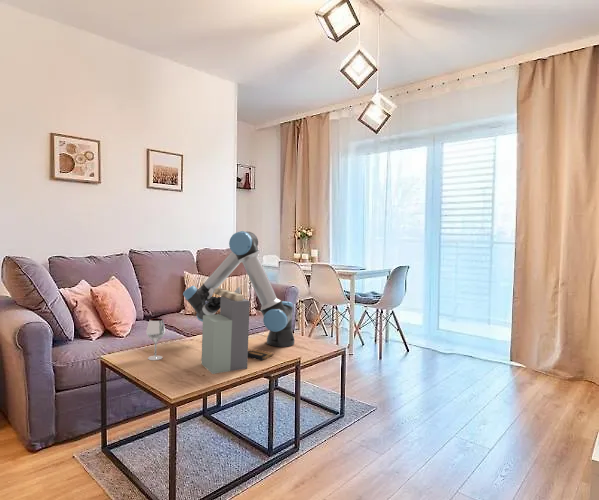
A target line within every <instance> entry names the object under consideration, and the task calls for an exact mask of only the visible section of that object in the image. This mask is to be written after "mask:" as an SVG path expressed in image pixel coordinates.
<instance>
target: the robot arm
mask: <svg viewBox="0 0 599 500" xmlns="http://www.w3.org/2000/svg"><path fill="white" fill-rule="evenodd" d="M228 241H229V242H228V244H229V245H228V246H229V249H230V251H231V252H230V253H229V254H228V255H227V256H226V258H225V259H224V260H223V261H222V262H221V263H220V264H219V266H218V267H217V268H216V269H215V270H214V271H213V272H212V273H211V274H210V275H209V277H208V278H207V279H206V280H205V281H204V282H203V284H202V285H200V287H199V288H197V287H196V286H195V285H191V286H189V287H187V288H186V289H185V290H184V291H183V293H182V296H183V297H184V298H185V300H186V301H187V302H188V304H189V305H190V306H191V307H192V308H193V309H194V311H195V312H196V318H197V320H198V321H200V322H202V323H203V315H215V314H217V312H218V311H220V300H221V297H223V296H213V295H214V291H215V288H219V287H221V285H222V284H223V283H224V282H225V281H226V279H228V277H230V275H231V274H232V273H233V271H235V270H236V268H237V267H238V266H240V264H241V263H242V264H243V266H244V269H245V271H246V273H247V276H248V278H249V280H250V283H251V284H252V287H253V289H254V291H255V293H256V296H257V298H258V300H259V303H260V304H261V305H260V307H261V308H260V312H261V313H262V316H263V318H262V321H263V325H264V327H265V328H266V329H267V330H268V331H269V332H268V334H267V338H266V345H269V346H272V347H279V348H285V347H287V348H288V347H291V346H294V345H295V337H294V333H293V330H292V329H293V310H294V309H293V308H294V307H293V306H294V303H293V302H291V301H285V300H283V301H282V300H281V299H279V298H278V297H277V296H276V295H277V294H276V292H275V290H274V288H273V286H272V284H271V282H270V280H269V278H268V275H267V273H266V271H265V269H264V266H263V265H262V262H261V260H260V257H259V254H260V250H259V248H258V245H259V239H258V237H257V236H256V234H255V233H254V232H251V231H243V230H242V231H240V230H239V231H237V232H235V233H233V234H232V235H231V237H230V239H229V240H228ZM233 292H235V293H238V294H241V293H242V291H241V287H240V286H238V287H237V288H236V289H235V290H234V291H233Z"/></svg>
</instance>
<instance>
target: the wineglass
mask: <svg viewBox="0 0 599 500" xmlns="http://www.w3.org/2000/svg"><path fill="white" fill-rule="evenodd" d="M146 335H147V337H148V339H150V340H152V342H153V343H154V352H153V353H154V355H150V356H148V357H147V360H149V361H159V360H162V359H163V356H162V355H157V345H158V342H159V340H161V339H162V338H163V337H164V336H165V335H166V327H165V323H164V319H163V318H160V317H159V318H157V317H155V318H154V317H153V318H150V319H149V321H148V325H147V327H146Z"/></svg>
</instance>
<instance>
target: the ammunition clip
mask: <svg viewBox="0 0 599 500" xmlns="http://www.w3.org/2000/svg"><path fill="white" fill-rule="evenodd" d="M274 354H275V352H271V351H268V350H263V349H253V350H248V358H249V359H253V360H257V361H264V360H267V359H268V358H270V357H272V356H273V355H274Z"/></svg>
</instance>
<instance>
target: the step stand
mask: <svg viewBox="0 0 599 500" xmlns="http://www.w3.org/2000/svg"><path fill="white" fill-rule="evenodd" d="M220 297H221V296H220ZM250 306H251V302H250V300H248V299H245V297H243V301H235V300H232V299H229V298H226V297H221V300H220V309H219V314H217V313H215V314H214V315H203V322H202V338H201V362H200V363H201V365H202V367H204V368H205V369H206V370H207V371H208V372H209V373H211V375H214V374H220V373H225V372H226V373H227V372H233V371H240V370H245V369H246V370H247V369H248V351H249V335H250V334H249V331H250V329H249V328H250V327H249V326H250Z"/></svg>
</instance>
